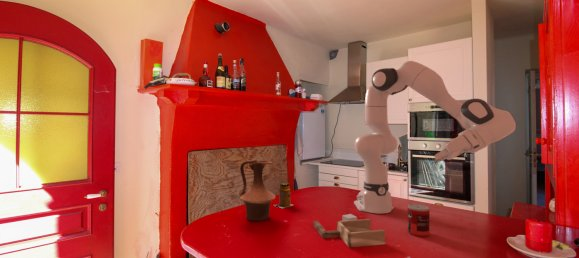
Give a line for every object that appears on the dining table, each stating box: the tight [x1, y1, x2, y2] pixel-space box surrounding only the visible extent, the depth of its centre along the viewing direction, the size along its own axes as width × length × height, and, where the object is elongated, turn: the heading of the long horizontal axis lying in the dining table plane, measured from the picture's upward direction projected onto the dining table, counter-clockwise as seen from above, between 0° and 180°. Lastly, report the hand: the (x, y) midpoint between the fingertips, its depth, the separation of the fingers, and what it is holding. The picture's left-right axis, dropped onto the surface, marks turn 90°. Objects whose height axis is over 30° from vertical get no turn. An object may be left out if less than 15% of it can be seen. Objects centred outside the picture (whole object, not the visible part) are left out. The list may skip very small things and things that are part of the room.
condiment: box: [273, 182, 294, 209], centre depth 152 cm, size 7×8×12 cm
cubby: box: [336, 218, 386, 248], centre depth 108 cm, size 13×14×5 cm
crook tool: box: [312, 220, 341, 239], centre depth 116 cm, size 14×7×2 cm, turn 10°
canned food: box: [407, 203, 430, 238], centre depth 112 cm, size 8×8×11 cm
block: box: [341, 213, 358, 221], centre depth 121 cm, size 4×4×4 cm
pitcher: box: [238, 159, 276, 222], centre depth 133 cm, size 18×17×28 cm
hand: (435, 159), depth 110 cm, fingers open, 8 cm apart
